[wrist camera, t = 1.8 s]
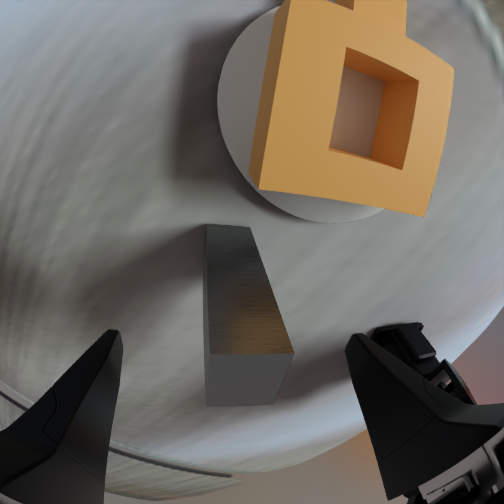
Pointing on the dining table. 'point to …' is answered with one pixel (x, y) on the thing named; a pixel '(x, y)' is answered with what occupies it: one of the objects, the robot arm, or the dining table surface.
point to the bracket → (335, 109)
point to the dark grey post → (240, 322)
